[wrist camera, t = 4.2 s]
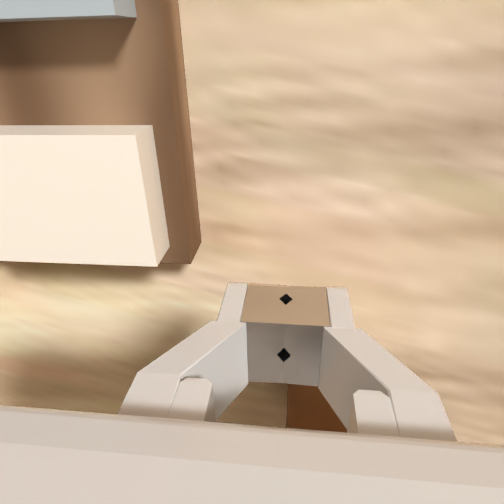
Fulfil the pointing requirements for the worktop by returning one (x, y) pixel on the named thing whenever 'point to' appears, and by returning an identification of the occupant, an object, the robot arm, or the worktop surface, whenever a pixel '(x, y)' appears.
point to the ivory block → (81, 195)
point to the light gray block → (65, 10)
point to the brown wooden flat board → (111, 93)
